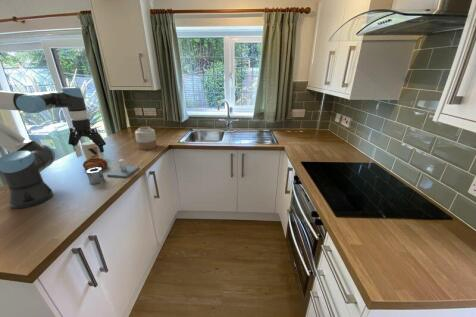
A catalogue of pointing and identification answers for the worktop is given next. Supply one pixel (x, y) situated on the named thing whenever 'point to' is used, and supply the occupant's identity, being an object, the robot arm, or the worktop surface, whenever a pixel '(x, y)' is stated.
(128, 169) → the shaft block
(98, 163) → the pastry
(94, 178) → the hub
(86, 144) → the coffee cup
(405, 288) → the worktop surface
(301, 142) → the worktop surface
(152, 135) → the vase
